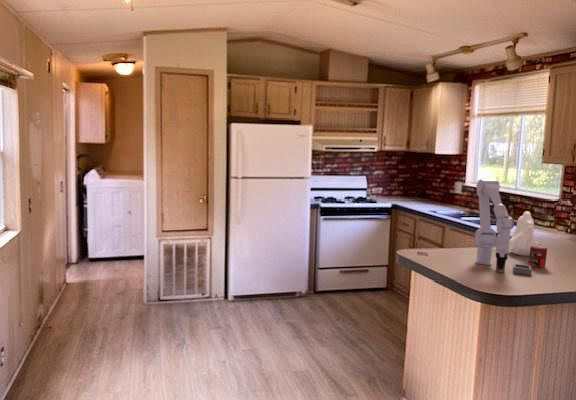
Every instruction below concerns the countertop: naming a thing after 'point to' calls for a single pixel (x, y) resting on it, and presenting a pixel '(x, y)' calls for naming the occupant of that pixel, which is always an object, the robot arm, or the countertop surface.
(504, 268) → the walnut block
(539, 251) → the canned food
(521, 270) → the well
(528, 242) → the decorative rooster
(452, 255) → the countertop surface
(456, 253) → the countertop surface
